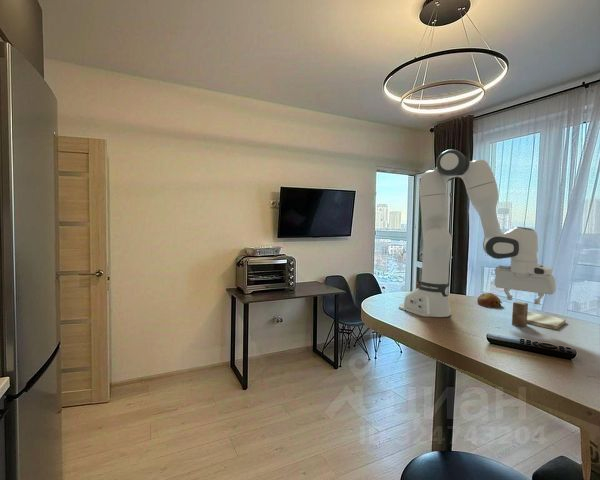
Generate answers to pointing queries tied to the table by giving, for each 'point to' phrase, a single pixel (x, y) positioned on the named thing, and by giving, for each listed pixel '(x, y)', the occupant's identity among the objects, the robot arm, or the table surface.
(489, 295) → the bread roll
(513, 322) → the walnut block
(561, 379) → the table surface
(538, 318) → the board
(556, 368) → the table surface
